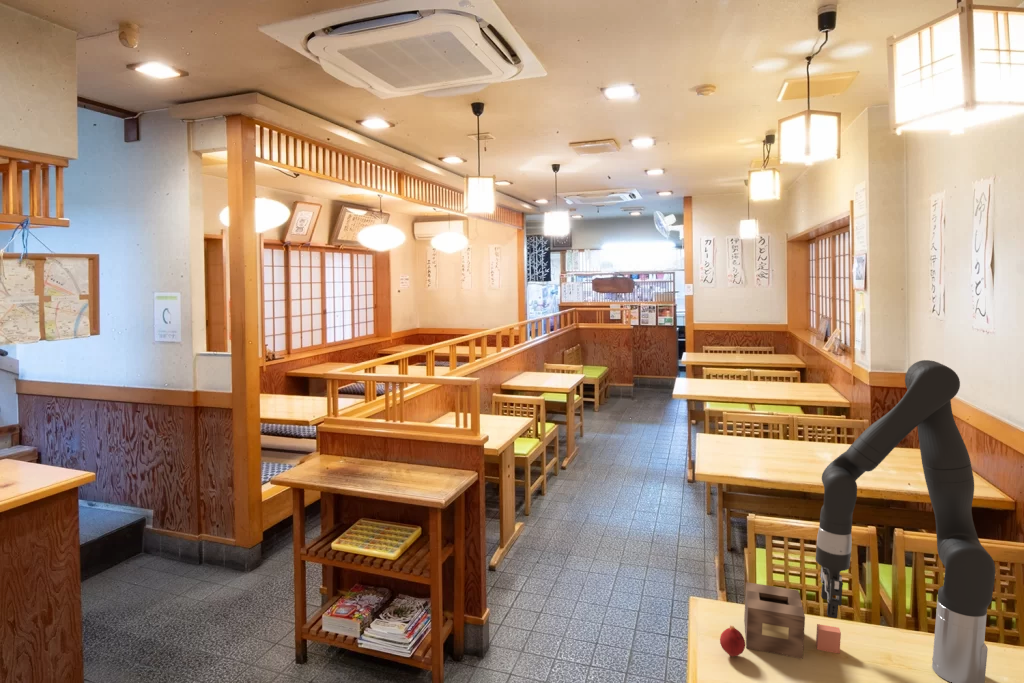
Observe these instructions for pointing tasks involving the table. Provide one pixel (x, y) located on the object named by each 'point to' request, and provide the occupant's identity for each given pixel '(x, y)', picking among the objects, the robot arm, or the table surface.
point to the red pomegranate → (732, 641)
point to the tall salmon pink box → (828, 638)
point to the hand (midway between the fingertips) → (828, 607)
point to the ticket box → (774, 620)
